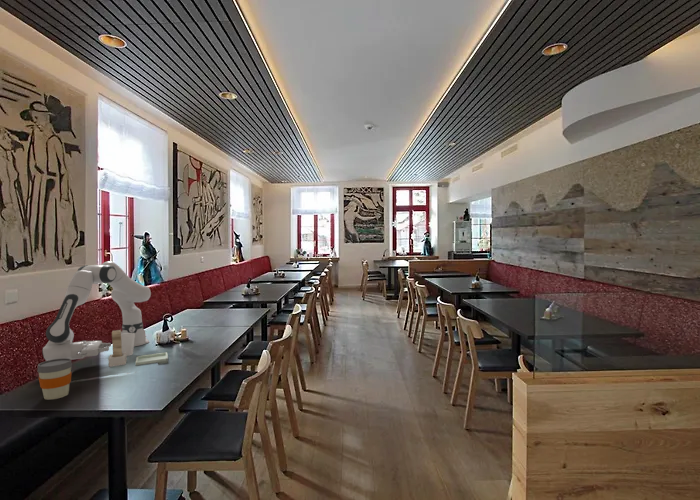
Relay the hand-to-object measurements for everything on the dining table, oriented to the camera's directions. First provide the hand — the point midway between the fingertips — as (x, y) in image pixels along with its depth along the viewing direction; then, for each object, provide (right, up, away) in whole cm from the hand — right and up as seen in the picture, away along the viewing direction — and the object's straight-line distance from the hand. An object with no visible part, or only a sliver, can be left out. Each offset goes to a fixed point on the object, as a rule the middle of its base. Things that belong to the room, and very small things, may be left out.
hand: (109, 346), depth 227 cm
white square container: (+4, -11, +2) cm, 11 cm away
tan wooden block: (+3, -10, +2) cm, 10 cm away
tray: (+20, -10, +7) cm, 23 cm away
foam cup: (-1, -10, +19) cm, 22 cm away
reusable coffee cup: (0, -12, -42) cm, 43 cm away
